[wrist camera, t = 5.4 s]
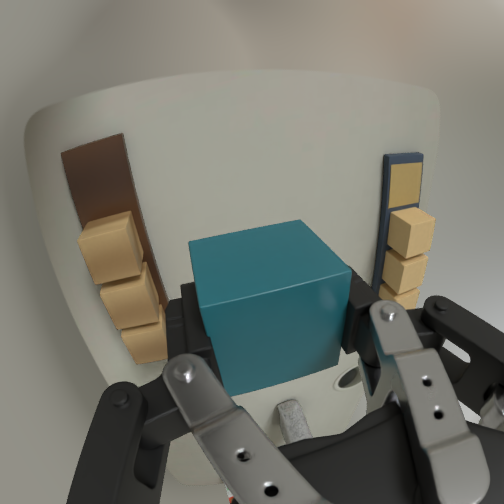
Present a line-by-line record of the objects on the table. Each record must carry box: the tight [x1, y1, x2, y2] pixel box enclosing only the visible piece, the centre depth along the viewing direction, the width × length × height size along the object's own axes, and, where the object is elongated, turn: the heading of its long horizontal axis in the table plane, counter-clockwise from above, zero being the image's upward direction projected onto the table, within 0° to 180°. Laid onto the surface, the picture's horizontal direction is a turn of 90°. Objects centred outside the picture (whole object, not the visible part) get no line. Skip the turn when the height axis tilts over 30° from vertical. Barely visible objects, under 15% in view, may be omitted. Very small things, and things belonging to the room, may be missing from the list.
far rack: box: [372, 152, 436, 310], centre depth 35 cm, size 24×6×5 cm, turn 6°
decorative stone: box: [277, 400, 313, 445], centre depth 45 cm, size 11×6×15 cm, turn 10°
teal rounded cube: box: [188, 220, 352, 397], centre depth 11 cm, size 4×4×4 cm
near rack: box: [61, 133, 169, 364], centre depth 26 cm, size 24×6×5 cm, turn 6°
